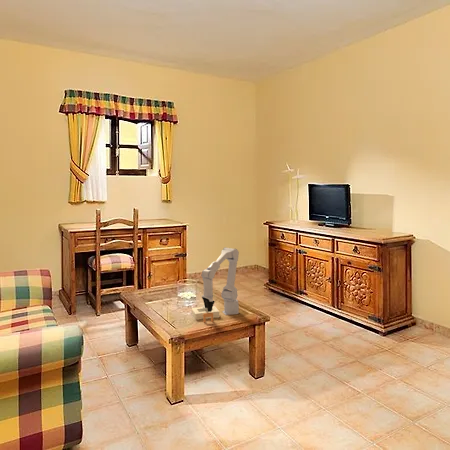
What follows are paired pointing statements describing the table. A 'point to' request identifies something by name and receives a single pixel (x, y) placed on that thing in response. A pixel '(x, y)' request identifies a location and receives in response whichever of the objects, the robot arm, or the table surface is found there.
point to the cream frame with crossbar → (200, 311)
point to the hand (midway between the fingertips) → (208, 309)
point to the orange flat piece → (208, 316)
